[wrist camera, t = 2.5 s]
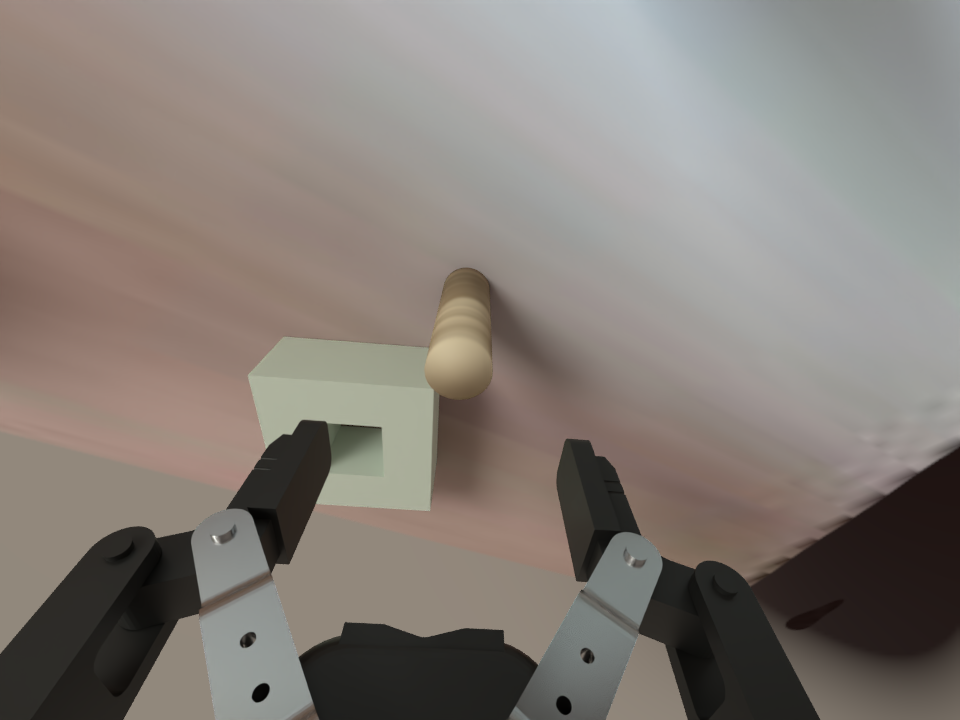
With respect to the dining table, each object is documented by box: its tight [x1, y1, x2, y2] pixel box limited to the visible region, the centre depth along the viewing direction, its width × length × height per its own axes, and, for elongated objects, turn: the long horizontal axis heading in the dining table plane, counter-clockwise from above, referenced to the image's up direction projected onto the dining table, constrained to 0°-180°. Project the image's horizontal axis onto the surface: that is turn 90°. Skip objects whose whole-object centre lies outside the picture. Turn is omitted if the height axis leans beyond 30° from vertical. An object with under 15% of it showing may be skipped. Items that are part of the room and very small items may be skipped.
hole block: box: [248, 337, 439, 511], centre depth 29 cm, size 11×11×5 cm
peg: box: [424, 268, 493, 400], centre depth 22 cm, size 3×3×10 cm
